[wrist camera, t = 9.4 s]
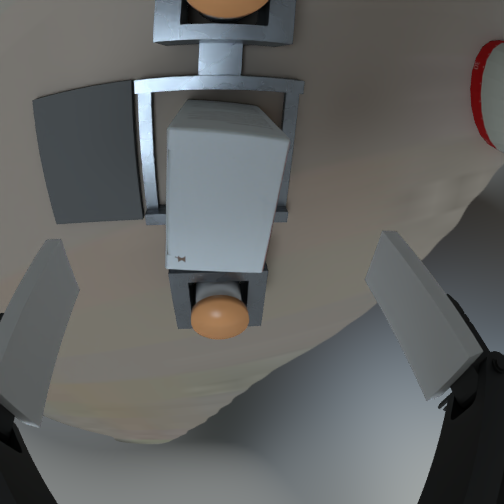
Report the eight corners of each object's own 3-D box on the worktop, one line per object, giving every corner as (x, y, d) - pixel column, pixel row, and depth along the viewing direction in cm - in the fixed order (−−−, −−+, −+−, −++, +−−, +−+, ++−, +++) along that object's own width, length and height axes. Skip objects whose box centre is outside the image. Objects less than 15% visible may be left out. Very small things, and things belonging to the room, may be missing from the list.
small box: (244, 195, 25) (263, 277, 17) (179, 190, 24) (164, 273, 16) (259, 104, 21) (295, 139, 12) (186, 97, 20) (165, 126, 11)
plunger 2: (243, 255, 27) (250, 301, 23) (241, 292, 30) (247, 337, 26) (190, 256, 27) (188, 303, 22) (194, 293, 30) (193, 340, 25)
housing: (307, -27, 14) (331, -43, 10) (272, 289, 32) (280, 324, 29) (144, -31, 12) (128, -50, 8) (162, 292, 31) (157, 328, 27)
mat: (133, 79, 18) (131, 80, 17) (144, 215, 25) (142, 219, 25) (36, 99, 17) (32, 100, 16) (59, 221, 24) (56, 224, 23)
